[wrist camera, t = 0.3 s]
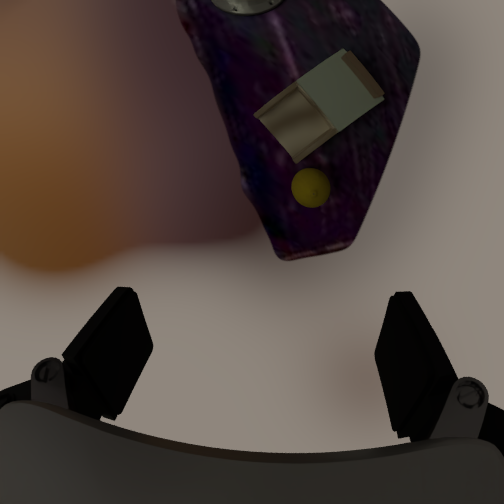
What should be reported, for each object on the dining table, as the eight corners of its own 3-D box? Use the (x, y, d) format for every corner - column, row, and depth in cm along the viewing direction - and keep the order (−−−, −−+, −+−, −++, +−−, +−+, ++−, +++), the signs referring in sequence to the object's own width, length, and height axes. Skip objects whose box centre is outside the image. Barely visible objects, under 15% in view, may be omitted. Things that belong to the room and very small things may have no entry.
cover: (296, 81, 32) (297, 77, 29) (342, 49, 29) (346, 44, 26) (338, 131, 34) (343, 132, 31) (382, 99, 31) (390, 98, 28)
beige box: (256, 115, 39) (253, 114, 35) (336, 56, 33) (342, 49, 29) (294, 159, 41) (296, 163, 37) (373, 101, 35) (383, 99, 31)
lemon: (333, 180, 42) (343, 192, 35) (310, 205, 44) (315, 222, 37) (306, 157, 41) (311, 164, 34) (283, 183, 43) (283, 196, 36)
